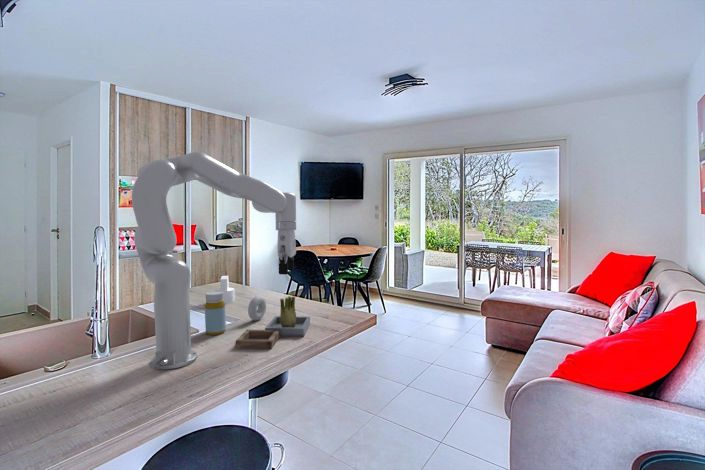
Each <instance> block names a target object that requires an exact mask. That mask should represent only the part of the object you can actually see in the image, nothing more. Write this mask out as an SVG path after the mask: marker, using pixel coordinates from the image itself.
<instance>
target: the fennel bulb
mask: <svg viewBox="0 0 705 470" xmlns="http://www.w3.org/2000/svg"><path fill="white" fill-rule="evenodd" d="M284 298H285V299H284ZM284 298H280V313H279V314H280V321H281V326H282V327H290V328H294V327H295V325H296V317H297V313H296V307H295V305H296V296H287V297H284Z"/></svg>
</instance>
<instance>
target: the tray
mask: <svg viewBox="0 0 705 470" xmlns="http://www.w3.org/2000/svg"><path fill="white" fill-rule="evenodd" d="M310 325H311V316H296V325H295V327H294V328H290V327H282V326H281V321H280V316H279V315H278V316H276V315H275V316H274V317H273V318H272V319H271V321H269V323H268V324H266V326H265V327H264V330H280V337H286V338H287V337H292V338H293V337H294V338H299V337H300V338H302V337H303V338H305V335H306V333H307V331H308V329H309V328H310Z"/></svg>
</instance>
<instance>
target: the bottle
mask: <svg viewBox="0 0 705 470" xmlns="http://www.w3.org/2000/svg"><path fill="white" fill-rule="evenodd" d="M223 300H224V293H223V291H215V290H212V291H207V292H206V293H205V303H204V319H205V322H204V324H205V333H206V334H207V335H208V336H217V335H221V334H222V335H223V334H224V333H225V332H226V329H227V326H226V325H227V323H226V322H227V320H226V304H225V303H224V301H223Z"/></svg>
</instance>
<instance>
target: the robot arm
mask: <svg viewBox="0 0 705 470" xmlns="http://www.w3.org/2000/svg"><path fill="white" fill-rule="evenodd" d="M192 181H198V182H200V183H202V184H203V185H206V186H208V187H210V188H212V189H214V190H216V191H218V192H220V193H221V194H223V195H226V196H229V197H232V198H237V199H242V200H247V201H250V202H251V204H252V207H253V209H255V211H257V212H259V213H264V214H266V213H267V214H269V213H273V214H275V231H277V256H278V275H288V274H289V270H291V271H293V270H294V268H295V267H294V266H295V262H294V260H295V259H294V256H296V254H297V247H296V246H297V244H296V232H295V231H297V196H296V194H295V193H294V192H283V191H280V190H279V189H277V188H275V187H273V186H272V185H270V184H268V183H267V182H264V181H263V180H260V179H257V178H255V177H252V176H249V175H247V174H244V173H241V172H239V171H238V170H235V169H234V168H232V167H230V166H228V165H226V164H225V163H223V162H221V161H219V160H217V159H215V158H214V157H212V156H210V155H208V154H206V153H204V152H201V151H193V152H188V153H186V154H183V155H179V156H176V157H172V158H166V159H155V160H152V161H149V162H146V163H144V164H143V165H142V166H140V168H139V169H138V171H137V177H136V180H135V182H134V184H133V187H132V190H131V205H132V210H133V212H134V217H135V220H136V224H137V228H136V229H135V231H134V235H133V242H134V243H133V244H134V245H135V249H136V251H137V256H138V258H139V261H140V264H141V267H142V269H143V272H144V275H145V277H146V278H147V279H148V281H149V282H151V283H153V284H154V292H153V293H154V294H153V313H154V327H155V328H154V329H155V330H154V332H155V334H154V335H155V356H153V357H152V358H151V360H150V361H149V363H148V367H149V368H150V369H157V370H171V369H177V368H178V369H179V368H182V367H184V366H188V365H190V364H191V363H193V362H195V361H196V360H197V358H198V354H197V351H195V350H193V349H192V337H191V334H192V333H191V313H190V312H191V309H190V287H191V280H192V277H191V271H190V268H189V266H188V265H187V263H186V262H185V261H184V260H182V259H180V258H178V257H175V255H174V252H173V251H174V249H175V248H176V246H177V242H178V241H177V234H176V232H175V229H174V225H173V223H172V220H171V216H170V212H169V210H168V204H167V196H168V192H169V191H170V190H171V188H172V187H175V186H178V185H182V184H186V183H189V182H192Z"/></svg>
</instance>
